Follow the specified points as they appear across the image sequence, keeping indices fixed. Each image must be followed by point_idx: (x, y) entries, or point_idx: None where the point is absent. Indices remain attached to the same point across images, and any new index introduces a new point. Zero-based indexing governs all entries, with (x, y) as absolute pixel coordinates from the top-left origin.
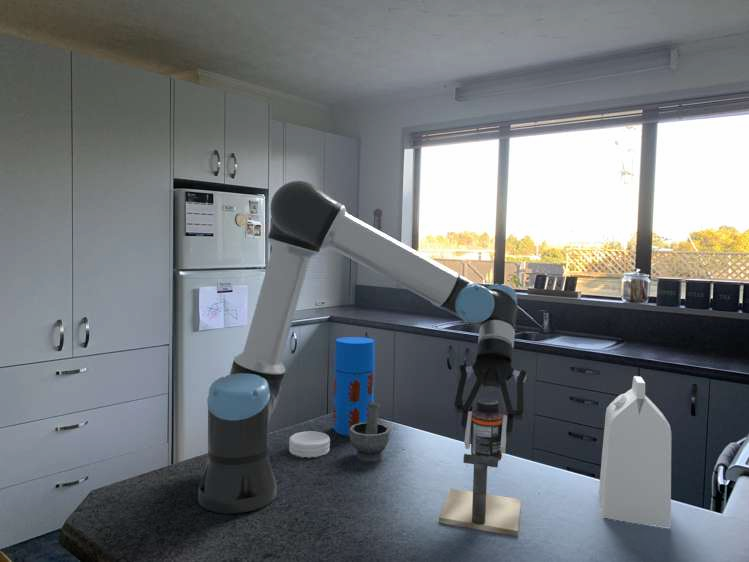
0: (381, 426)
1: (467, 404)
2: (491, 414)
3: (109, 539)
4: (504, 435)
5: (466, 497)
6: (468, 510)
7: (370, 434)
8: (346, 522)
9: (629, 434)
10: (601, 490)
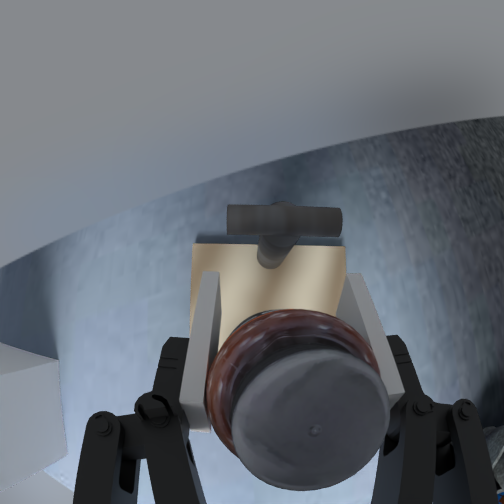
0: None
1: (423, 429)
2: (272, 342)
3: None
4: (200, 306)
5: None
6: (295, 296)
7: None
8: (460, 204)
9: None
10: (50, 423)
